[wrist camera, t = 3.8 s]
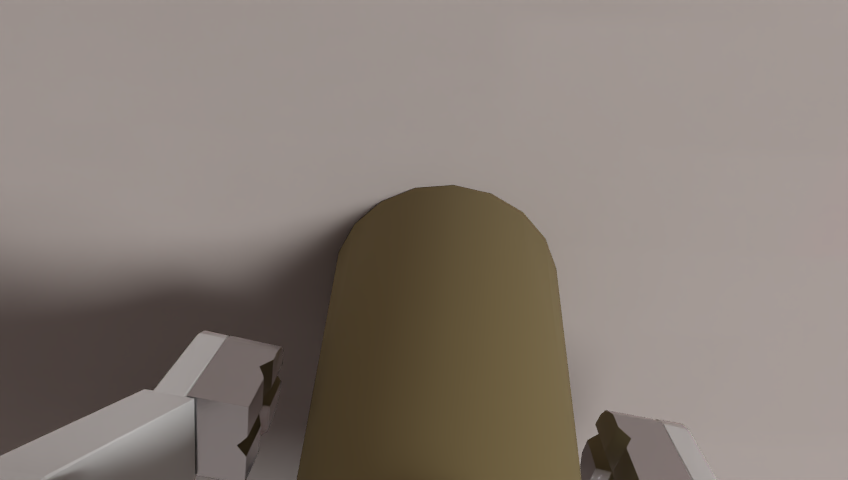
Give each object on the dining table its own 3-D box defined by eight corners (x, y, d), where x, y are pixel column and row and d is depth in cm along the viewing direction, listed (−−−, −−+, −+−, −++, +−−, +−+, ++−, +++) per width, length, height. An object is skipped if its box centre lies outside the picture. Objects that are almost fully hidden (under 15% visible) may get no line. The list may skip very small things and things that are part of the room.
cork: (375, 147, 11) (-120, 1033, 2) (599, 236, 12) (1245, 1247, 2) (309, 336, 14) (-37, 1121, 4) (497, 400, 15) (587, 1208, 5)
